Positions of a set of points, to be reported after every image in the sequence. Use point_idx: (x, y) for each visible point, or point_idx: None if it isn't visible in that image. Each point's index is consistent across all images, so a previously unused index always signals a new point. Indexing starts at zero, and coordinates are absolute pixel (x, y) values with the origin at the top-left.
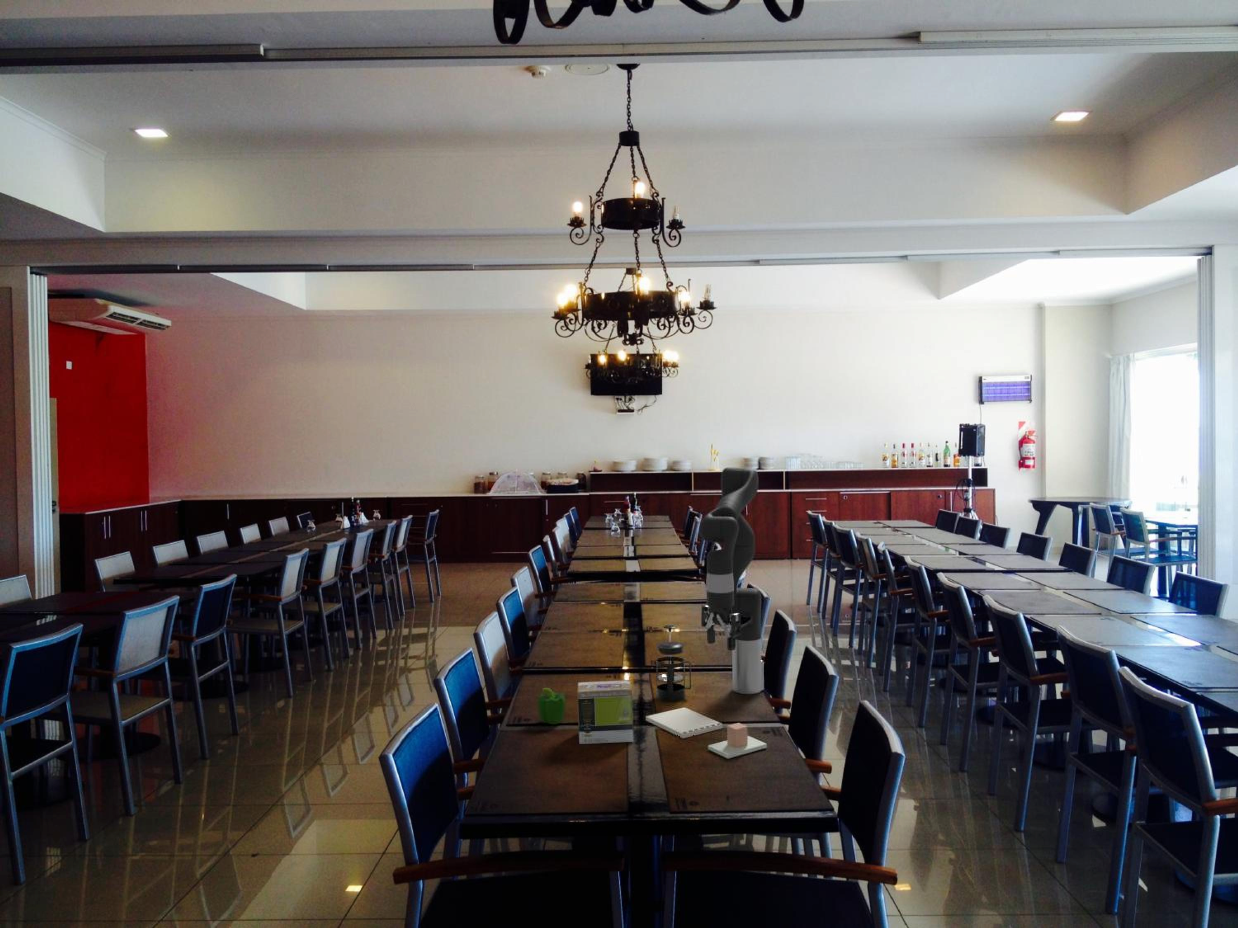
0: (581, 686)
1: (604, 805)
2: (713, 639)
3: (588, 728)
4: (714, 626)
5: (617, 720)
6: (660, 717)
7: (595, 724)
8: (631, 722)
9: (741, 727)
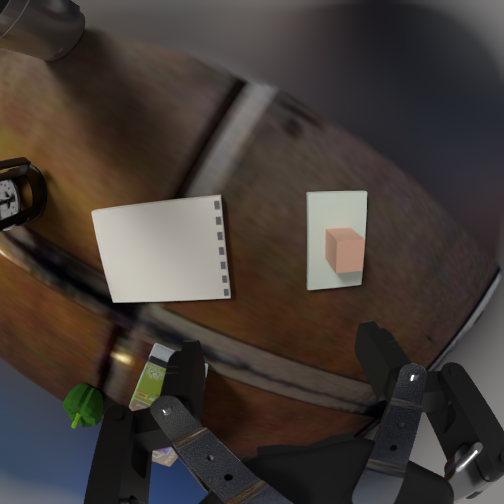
0: None
1: (351, 428)
2: (199, 360)
3: None
4: (193, 420)
5: None
6: (127, 284)
7: None
8: (204, 387)
9: (361, 253)
